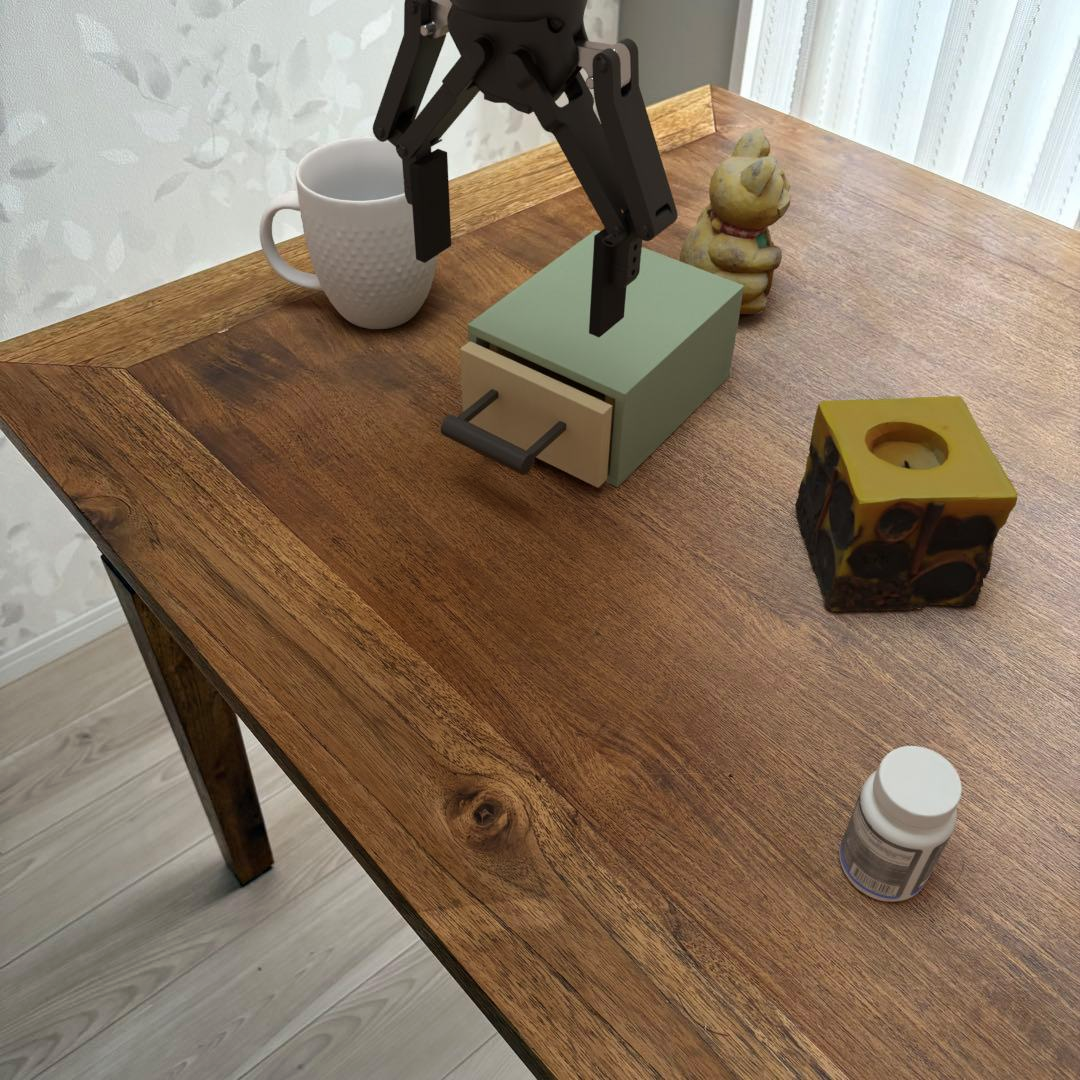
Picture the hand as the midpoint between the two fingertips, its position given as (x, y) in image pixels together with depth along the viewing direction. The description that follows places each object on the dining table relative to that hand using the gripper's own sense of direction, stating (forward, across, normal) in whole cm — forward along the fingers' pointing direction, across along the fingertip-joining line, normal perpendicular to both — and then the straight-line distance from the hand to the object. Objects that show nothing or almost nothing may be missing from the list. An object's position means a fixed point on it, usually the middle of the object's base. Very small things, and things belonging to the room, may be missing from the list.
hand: (516, 288), depth 70 cm
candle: (+16, -25, -9) cm, 31 cm away
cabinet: (+16, 0, -12) cm, 20 cm away
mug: (+16, +24, -10) cm, 30 cm away
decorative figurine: (+16, 0, -29) cm, 33 cm away
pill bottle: (+16, -34, +13) cm, 40 cm away
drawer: (+15, 0, -7) cm, 17 cm away
